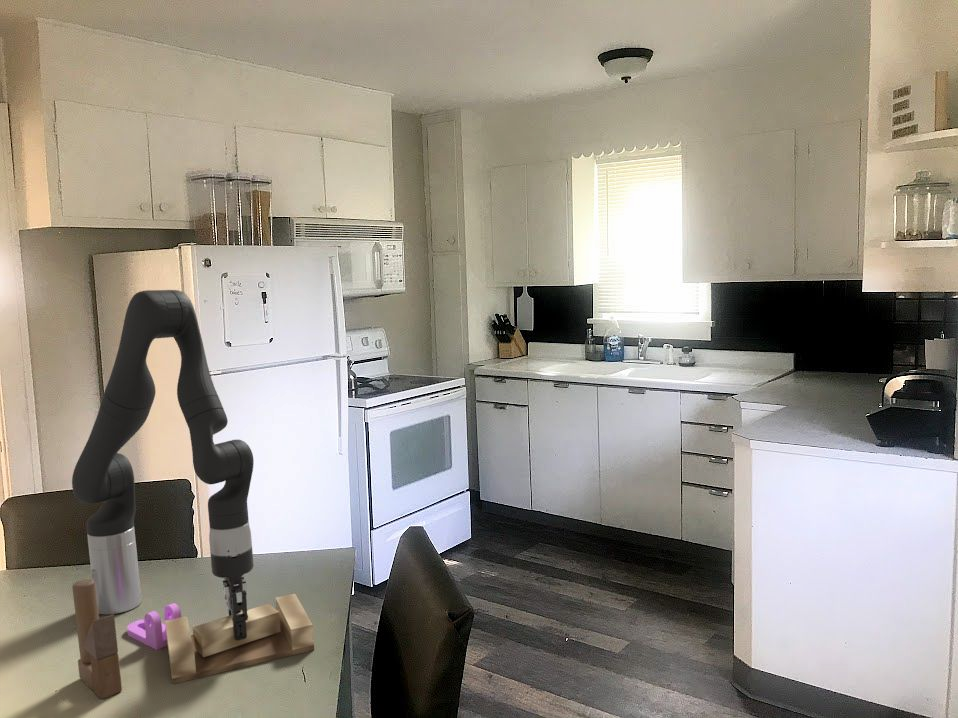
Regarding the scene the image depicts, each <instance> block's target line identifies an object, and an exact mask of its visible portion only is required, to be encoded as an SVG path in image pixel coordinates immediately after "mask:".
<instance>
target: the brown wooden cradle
mask: <svg viewBox="0 0 958 718" xmlns="http://www.w3.org/2000/svg"><path fill="white" fill-rule="evenodd" d="M274 599H275V600H274V601H275V609H276V610H277V611H279V616H280V630H281V632H278V633H275V634H272V635H269V636H266V637H263V638H260V639H257V640H254V641H251V642H248V643H245V644H242V645H239V646H236V647H233V648H230V649H227V650H224V651H221V652H218V653H215V654H212V655H209V656H206V657H202V656H201V654H200V653H199V652H198V651H197V650H196V649H195V648H194V639H193V634H191V630H190V625H189V621H188V616H186V615H185V616H181V618H176V619H171V620H166V621H165V620H164V624H165V627H166V637H167V646H166V647H167V653H168V660H169V666H170V667H169V669H170V675H171V681H172V682H171V683H172V685H174V684H177V683H178V684H179V683H184V682H188V681H191V680H194V679H200V678H203V677H208V676H213V675H215V674H216V675H217V674H220V673H223V672H224V673H225V672H227V671H228V672H229V671H232V670H235V669H236V670H237V669H241V668H245V667H250V666H252V665H253V666H254V665H257V664H261V663H262V664H263V663H265V662H270V661H274V660H278V659H283V658H286V657H291V656H294V655H298V654H304V653H307V652H310V651H314V650H315V641H314V628H313V623H312V622H311V619H310V617H309V616H308V614H307V612H306V610H305V609H304V606H303V605H302V603H301V602H300V600H299V598H298V596H297V594H296V593H291V594H286V595H282V596H277V597H274Z"/></svg>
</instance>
